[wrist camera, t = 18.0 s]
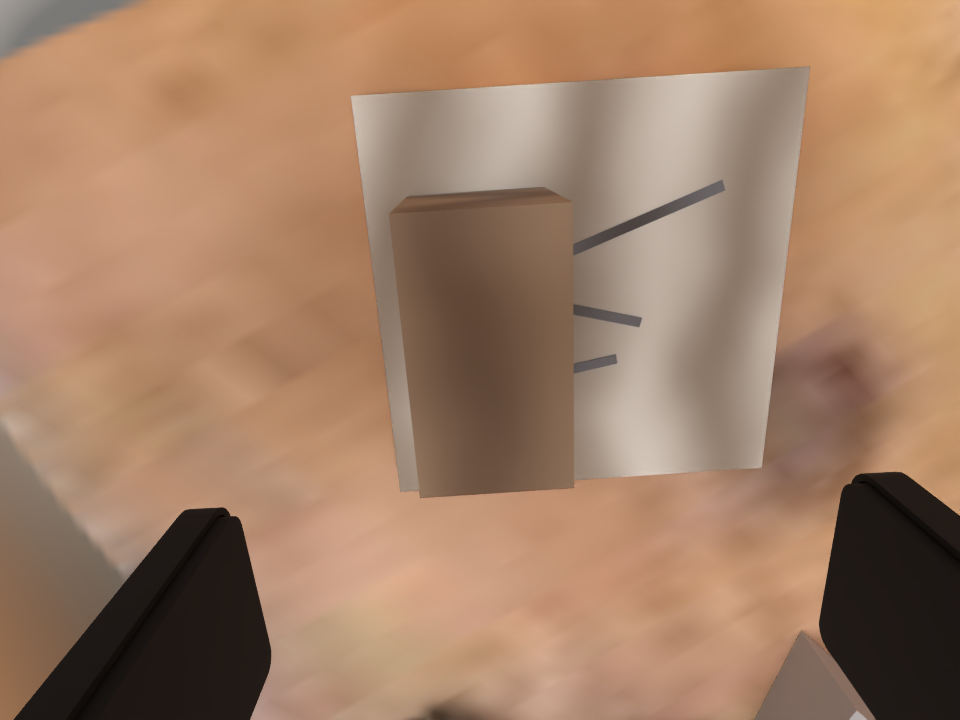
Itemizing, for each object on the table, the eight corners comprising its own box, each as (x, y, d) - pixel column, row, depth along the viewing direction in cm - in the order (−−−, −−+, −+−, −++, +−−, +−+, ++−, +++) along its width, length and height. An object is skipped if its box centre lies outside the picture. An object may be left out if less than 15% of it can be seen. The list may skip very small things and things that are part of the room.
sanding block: (544, 186, 22) (572, 202, 16) (548, 409, 25) (574, 488, 19) (408, 195, 22) (388, 213, 16) (429, 417, 25) (420, 498, 19)
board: (780, 73, 22) (810, 66, 20) (741, 445, 28) (762, 468, 26) (360, 99, 22) (350, 95, 20) (404, 468, 28) (400, 492, 26)
